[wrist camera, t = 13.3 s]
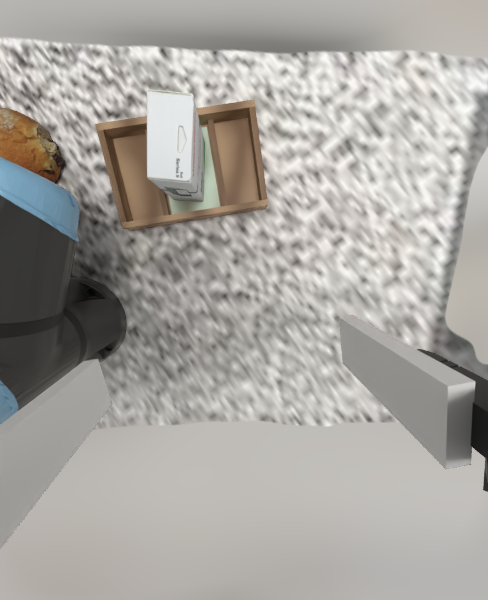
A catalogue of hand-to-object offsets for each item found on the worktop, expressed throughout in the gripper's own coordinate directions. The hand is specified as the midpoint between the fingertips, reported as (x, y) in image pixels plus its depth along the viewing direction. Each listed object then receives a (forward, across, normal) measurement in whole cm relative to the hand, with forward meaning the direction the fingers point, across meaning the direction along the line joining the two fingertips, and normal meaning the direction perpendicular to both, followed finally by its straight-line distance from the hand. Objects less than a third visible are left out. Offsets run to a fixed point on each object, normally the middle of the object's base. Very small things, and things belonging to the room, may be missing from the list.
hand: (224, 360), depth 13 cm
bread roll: (+29, -26, +24) cm, 45 cm away
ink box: (+28, -3, +18) cm, 33 cm away
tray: (+29, -3, +18) cm, 34 cm away
